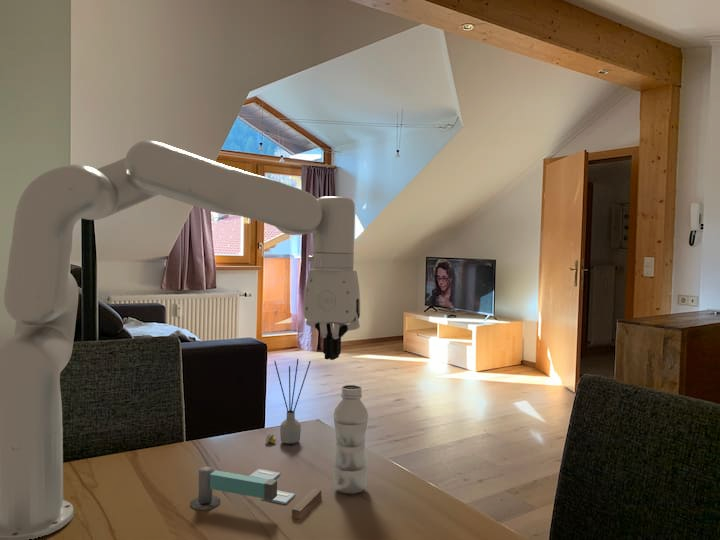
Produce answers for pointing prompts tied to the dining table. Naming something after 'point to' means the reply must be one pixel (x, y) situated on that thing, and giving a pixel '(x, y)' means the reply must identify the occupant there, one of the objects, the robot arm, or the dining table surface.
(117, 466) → the dining table surface
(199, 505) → the pivot plate
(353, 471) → the plastic bottle
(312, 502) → the sill
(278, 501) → the label cards
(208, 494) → the boom bar
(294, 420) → the reed diffuser
